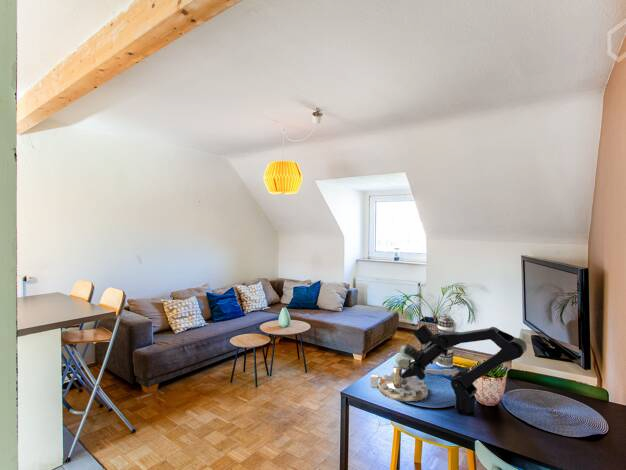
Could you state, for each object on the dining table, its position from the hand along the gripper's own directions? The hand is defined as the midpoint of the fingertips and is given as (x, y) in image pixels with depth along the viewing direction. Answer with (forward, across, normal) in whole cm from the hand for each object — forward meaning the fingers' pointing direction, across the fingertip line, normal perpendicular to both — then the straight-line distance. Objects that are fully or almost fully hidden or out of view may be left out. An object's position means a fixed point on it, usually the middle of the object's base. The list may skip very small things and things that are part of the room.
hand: (401, 377), depth 147 cm
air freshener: (+3, -34, +7) cm, 35 cm away
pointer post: (+14, -7, -3) cm, 16 cm away
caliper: (-7, -27, +18) cm, 33 cm away
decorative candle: (-11, -43, +21) cm, 49 cm away
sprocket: (+4, -6, +5) cm, 9 cm away
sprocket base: (+5, -6, +6) cm, 10 cm away
